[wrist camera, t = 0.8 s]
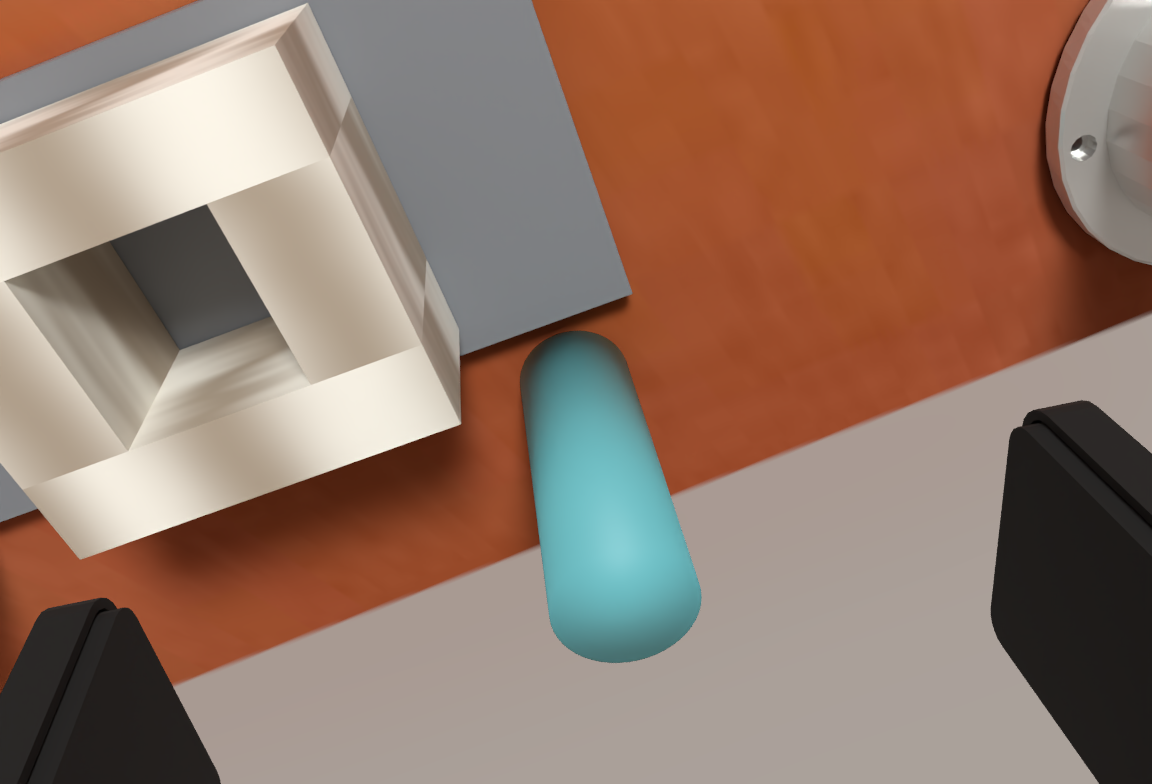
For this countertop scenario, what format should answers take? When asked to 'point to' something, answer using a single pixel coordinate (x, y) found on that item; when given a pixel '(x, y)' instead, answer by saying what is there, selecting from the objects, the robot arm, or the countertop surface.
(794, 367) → the countertop surface
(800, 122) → the countertop surface
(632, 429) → the dowel
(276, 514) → the countertop surface
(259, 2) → the track
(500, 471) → the countertop surface
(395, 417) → the block
